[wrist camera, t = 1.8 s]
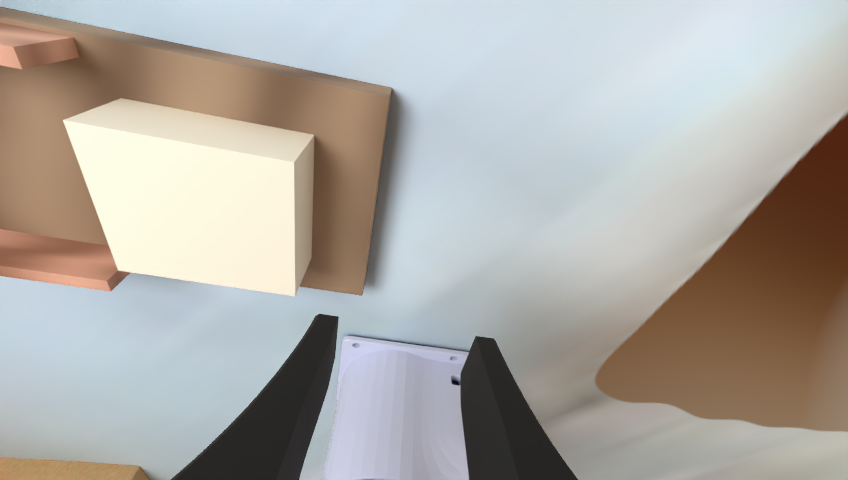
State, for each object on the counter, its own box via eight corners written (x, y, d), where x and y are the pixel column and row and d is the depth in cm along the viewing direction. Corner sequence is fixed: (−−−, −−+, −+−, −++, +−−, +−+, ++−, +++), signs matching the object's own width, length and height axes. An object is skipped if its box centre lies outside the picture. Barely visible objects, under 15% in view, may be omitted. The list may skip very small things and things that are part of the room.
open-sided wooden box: (392, 88, 16) (382, 114, 13) (365, 278, 23) (355, 328, 20) (-171, -29, 14) (-349, -32, 11) (-24, 219, 21) (-109, 263, 18)
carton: (314, 134, 16) (294, 162, 14) (311, 258, 20) (295, 296, 18) (121, 98, 15) (62, 120, 13) (157, 233, 19) (118, 270, 17)
